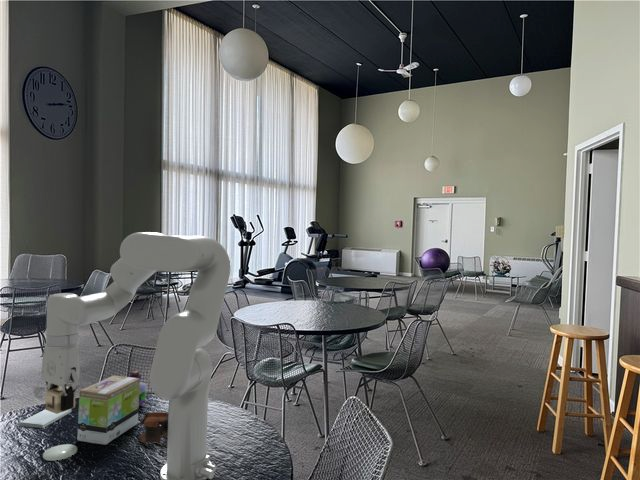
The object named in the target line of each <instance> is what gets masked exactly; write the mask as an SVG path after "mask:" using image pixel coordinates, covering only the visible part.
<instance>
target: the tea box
mask: <svg viewBox="0 0 640 480" xmlns="http://www.w3.org/2000/svg"><path fill="white" fill-rule="evenodd" d="M140 382H141V379H139V378H132V377H128V376H123V375H122V376H121V375H111V376H109V377H106V378H104V379H102V380H100V381H98V382H96V383H93V384H91V385H89V386H87V387H85V388H83V389H81V390H79V396H78V397H79V399H78V417H77V419H78V420H77V438H76V439H77V441H79V442H84V443H90V444H97V445H98V444H99V445H104V446H105V445H108V444H109V443H111V442H112V441H113V440H115V439H116V438H119V437H120V436H121V435H122V434H125V433H126V432H128V431H129V430H130V429H132V428H133V427H135V426H137V425H138V424H139V410H140V408H139V388H140Z"/></svg>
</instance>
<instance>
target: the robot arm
mask: <svg viewBox="0 0 640 480" xmlns="http://www.w3.org/2000/svg"><path fill="white" fill-rule="evenodd" d="M119 256H120V258H119V259H118V260H116V261H115V262H114V263H113V264H112V265H111V267H110V270H109V271H110V272H109V273H110V276H111V278H112V280H113V281H112V283H110V284H109V285H108V286H107V287H106V288H105V289H104V290H102V291H101V292H96V293H91V294H86V295H81V296H79V295H78V294H75V293H72V292H71V293H70V292H61V293H54V294H51V295H49V296H48V297H47V302H46V332H45V333H46V334H45V335H46V336H45V345H44V349H43V353H42V360H41V374H40V375H41V376H40V377H41V379H42V380H43V382H45V384H46V391H48V390H52V389H55V388H58V387H62V392H63V396H61V411H65V410H67V409H70V408H72V409H74V408H73V404H74V393H75V391H77V389H78V388H79V387H80V386H81V382H80V352H79V346H78V345H79V330H80V329H79V328H80V327H79V326H86V325H90V324H93V323H97V322H100V321H105V320H107V319H109V318H112V317H113V316H115V315H116V314H118V312H120V311H121V310H122V309H123V308H125V307H126V306H127V305H128V304H129V303H130V302H131V301H132V299H134V296H135V294H136V293H137V290H138V288H139V287H140V286H142V284H143V283H144V282H146V281H147V280H148V279H149V278H150V277H151V276H152V275H154V274H155V273H156V272H168V273H188V272H193V271H197V274H196V277H195V279H194V281H193V283H192V285H191V287H190V289H189V294H188V299H187V303H186V305H185V308H184V309H183V311H181V312H179V313H176V314H174V315H172V316H170V317H169V318H168V319H167V320H166V321H165V322H164V324H163V325H162V327H161V328H160V332H159V334H158V335H159V336H158V339H157V342H156V346H155V352H154V355H153V359H152V364H151V367H150V368H151V369H150V374H149V384H150V388H151V389H152V392H153V394H154V395H155V396H156V397H157V398H159V399H161V400H164V401H168V409H167V410H168V411H167V413H168V436H167V443H166V444H167V445H166V446H167V449H166V450H167V451H166V453H167V454H166V455H167V456H166V463H165V464H164V465H163V466H162V468H160V471H159V472H160V473H159V477H160V480H207V479H210V480H211V479H213V478H214V475H215V472H216V471H217V468H218V467H217V465H215V464H212V462H211V460H210V455H209V454H207V446H208V444H207V442H208V441H207V438H208V410H209V409H208V408H209V392H210V384H211V378H212V373H213V363H212V359H211V356H210V355H209V353H208V352H207V351H206V350H205V349H204V348H202V347H203V346H206V345H207V344H209V343H210V342H211V341H213V339H214V338H215V336H216V334H217V331H218V326H219V322H220V319H221V313H222V310H223V306H224V301H225V296H226V292H227V287H228V284H229V280H230V275H231V260H230V257H229V254H228V252H227V250H226V249H225V248H224V246H223V245H222V244H221V243H220V242H219V241H218V240H216V239H214V238H212V237H209V236H205V235H167V234H164V233H161V232H156V231H155V232H154V231H153V232H151V231H145V232H144V231H143V232H142V231H141V232H140V231H139V232H137V231H136V232H133V233H131V234H129V235H127V236H126V237H125V238H124V239H123V241H121V244H120V247H119ZM66 386H67V387H69V388H68V389H67V387H66ZM75 394H76V393H75Z"/></svg>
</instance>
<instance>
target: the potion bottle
mask: <svg viewBox="0 0 640 480" xmlns="http://www.w3.org/2000/svg"><path fill="white" fill-rule="evenodd" d="M127 377H132V378H139V379H140V380H141V379H142V374H141V373H140V371H139V370H131V371H130V372H129V374H128V375H127ZM147 389H148V385H147V383H146V382H142V381H140V388H139V406H141V405H142V406H143V403H144V400H145V398H146V396H147ZM142 406H141V407H142Z"/></svg>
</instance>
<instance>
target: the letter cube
mask: <svg viewBox="0 0 640 480" xmlns="http://www.w3.org/2000/svg"><path fill="white" fill-rule="evenodd" d="M66 387H67V389H68V388H69V387H70V386H68V385H67V386H66ZM76 391H77V390H76ZM76 391H75V393H74V404H73V408H70V409H71V410H73V409H75V408H76V394H77V393H76ZM61 396H63V392H62V386H59V387H58V388H55V389H52V390H48V391H47V390H45V409H46V410H48V411H50V412H53V413H56V414H58V413H61V412H64V411H61ZM70 409H67V410H70ZM67 410H65V411H67Z"/></svg>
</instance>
